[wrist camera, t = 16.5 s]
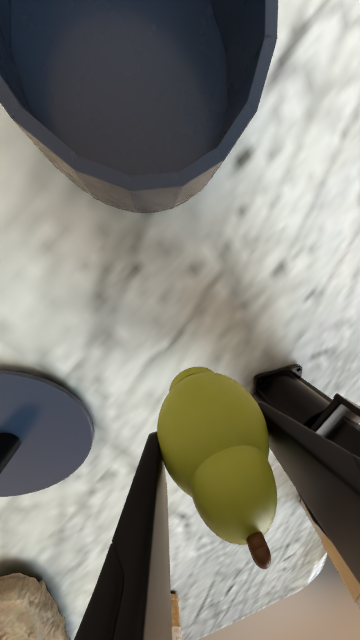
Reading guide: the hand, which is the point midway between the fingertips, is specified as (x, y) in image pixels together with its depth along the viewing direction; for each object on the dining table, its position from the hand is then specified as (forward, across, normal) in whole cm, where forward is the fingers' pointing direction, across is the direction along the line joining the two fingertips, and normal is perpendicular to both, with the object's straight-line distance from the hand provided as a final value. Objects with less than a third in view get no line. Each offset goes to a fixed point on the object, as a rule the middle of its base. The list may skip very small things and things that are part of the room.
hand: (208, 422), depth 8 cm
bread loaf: (-6, +29, +50) cm, 58 cm away
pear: (+2, 0, 0) cm, 2 cm away
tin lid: (+9, +18, +6) cm, 21 cm away
